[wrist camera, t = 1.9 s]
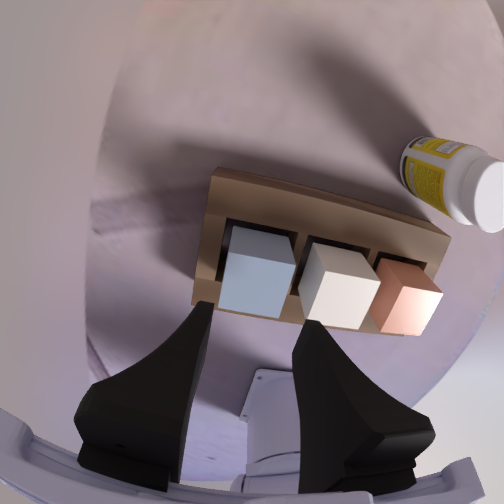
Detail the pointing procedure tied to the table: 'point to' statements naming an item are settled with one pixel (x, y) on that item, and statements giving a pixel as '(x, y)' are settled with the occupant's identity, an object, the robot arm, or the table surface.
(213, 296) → the key block
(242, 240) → the blue key
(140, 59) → the table surface
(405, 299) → the red key
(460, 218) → the supplement bottle
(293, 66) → the table surface
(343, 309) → the white key
